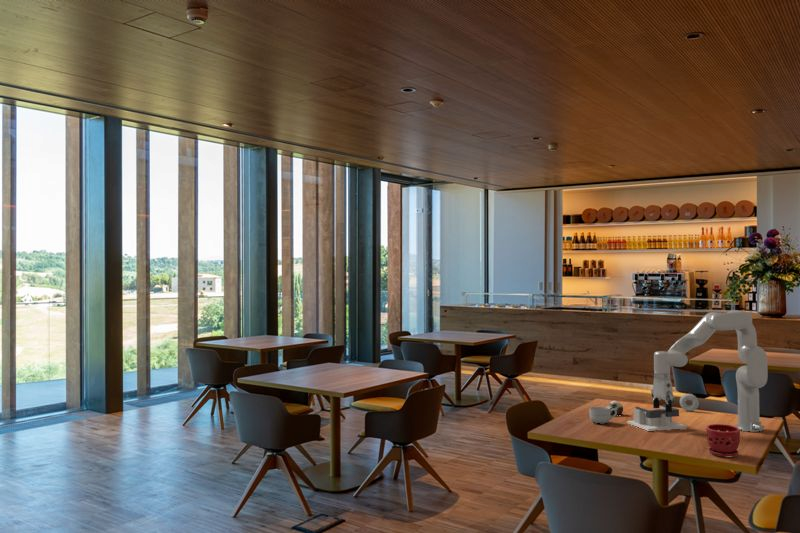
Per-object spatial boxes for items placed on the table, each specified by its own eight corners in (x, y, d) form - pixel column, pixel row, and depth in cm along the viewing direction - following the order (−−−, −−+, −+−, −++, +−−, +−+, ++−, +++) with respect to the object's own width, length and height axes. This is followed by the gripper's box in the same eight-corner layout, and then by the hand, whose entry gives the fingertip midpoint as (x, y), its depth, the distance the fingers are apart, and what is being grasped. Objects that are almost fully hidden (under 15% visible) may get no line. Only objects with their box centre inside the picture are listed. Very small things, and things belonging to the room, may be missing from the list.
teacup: (588, 424, 340) (588, 409, 340) (590, 419, 350) (589, 405, 350) (616, 426, 335) (616, 410, 335) (617, 421, 345) (617, 406, 345)
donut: (679, 410, 370) (679, 393, 370) (680, 409, 373) (680, 392, 373) (698, 412, 365) (698, 394, 365) (699, 411, 368) (699, 393, 368)
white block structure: (686, 428, 328) (686, 412, 328) (648, 431, 323) (648, 414, 323) (663, 421, 346) (663, 405, 346) (627, 423, 340) (627, 407, 340)
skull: (602, 414, 357) (601, 398, 364) (602, 424, 365) (601, 408, 371) (625, 415, 354) (624, 398, 361) (625, 425, 361) (623, 408, 368)
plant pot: (701, 450, 289) (701, 423, 289) (733, 451, 288) (732, 424, 288) (713, 459, 276) (712, 430, 276) (745, 459, 275) (745, 431, 275)
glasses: (679, 416, 330) (678, 409, 330) (649, 418, 326) (649, 411, 326) (664, 411, 342) (664, 404, 342) (635, 413, 338) (635, 406, 338)
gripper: (679, 378, 322) (680, 413, 322) (657, 373, 339) (658, 406, 339) (666, 379, 320) (667, 414, 320) (645, 373, 337) (645, 407, 337)
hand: (662, 410), depth 330 cm, fingers open, 9 cm apart
